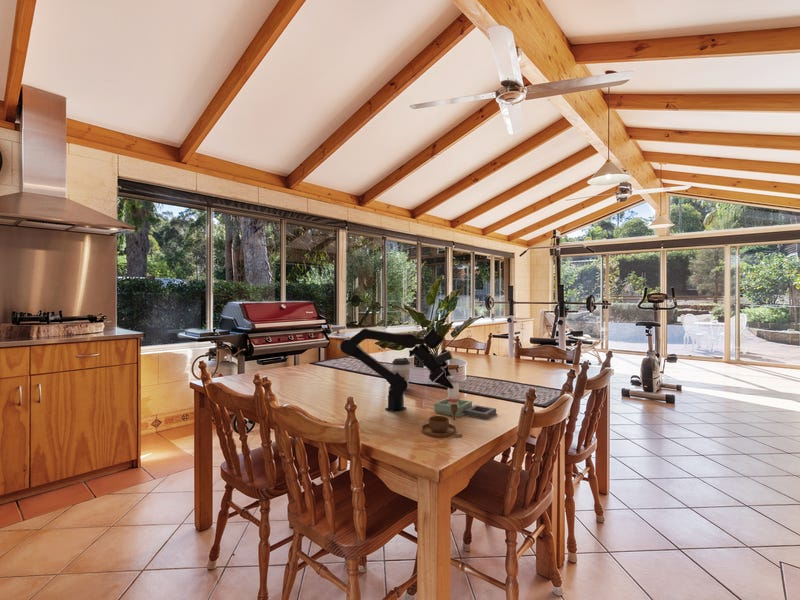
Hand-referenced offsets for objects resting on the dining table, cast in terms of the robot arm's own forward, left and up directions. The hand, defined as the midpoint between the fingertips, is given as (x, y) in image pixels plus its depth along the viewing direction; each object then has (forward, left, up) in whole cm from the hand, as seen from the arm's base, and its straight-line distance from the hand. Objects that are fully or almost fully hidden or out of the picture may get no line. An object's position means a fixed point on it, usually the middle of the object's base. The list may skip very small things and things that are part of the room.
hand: (453, 385), depth 161 cm
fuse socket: (+2, -11, -10) cm, 15 cm away
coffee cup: (+18, +40, -10) cm, 45 cm away
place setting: (-20, -9, -11) cm, 24 cm away
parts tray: (0, 0, -10) cm, 10 cm away
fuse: (0, 0, -9) cm, 9 cm away
